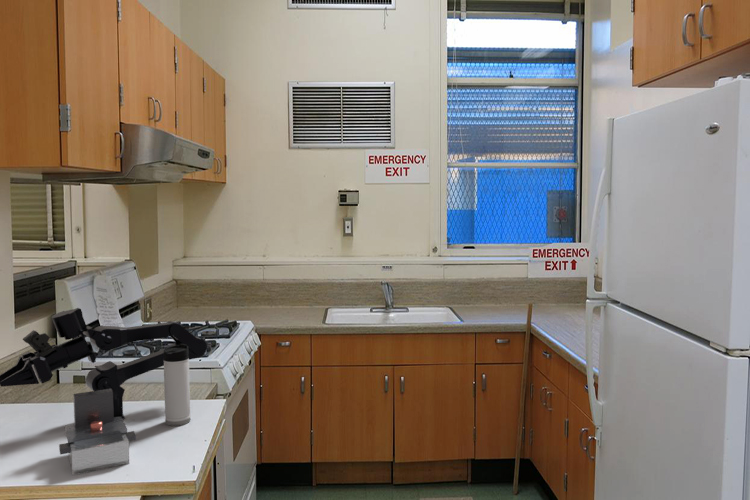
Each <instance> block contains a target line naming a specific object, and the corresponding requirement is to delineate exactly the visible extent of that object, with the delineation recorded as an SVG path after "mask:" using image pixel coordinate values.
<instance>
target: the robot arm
mask: <svg viewBox="0 0 750 500" xmlns="http://www.w3.org/2000/svg"><path fill="white" fill-rule="evenodd" d="M51 320H52V322H53V325H54V328H55V329H56V332H57V335H58V337H59V338H60V339H61V338H64V339H65V342H62V343H60V344H54V343H53V344H52V345H51V344H50V343H49V339H50V336H49V335H48V334H47V333H46V332H45V333H40V332H37V330H32V331H30V332H29V333H28V334H27V335H26V336H24V337H23V338H22V340H23V342H24V343H26V344H28V345H29V346H30V347H31V348H32V349H33V350H34V351H33V352H31V351H27V352H24V353H21V355H20V356H19V357H18V359H17V361H16V363H15V364H14V365H13V366H12V367H10V368H9V369H7V370H6V371H4V372H2V373H1V374H0V387H13V386H26V385H40V384H42V385H43V384H45V383H47V382H50V381H51V380H52V377H53V372H56V371H57V370H61V369H66V368H68V366H69V365H71V364H74V363H76V362H79V361H81V360H84V359H85V358H87V360H88V361H89V362H90V363H93V364H94V363H95V362H96V360H97V357H98V355H99V352H98V351H95V350H94V348H93V346H94V347H95V348H98V349H100V350H101V351H110V350H111V351H112V350H114V349H118V348H120V347H122V346H124V345H126V344H129V343H133V342H140V341H148V340H154V339H162V338H168V337H170V338H171V339H172V340H173V341H174V343H172V345H171V346H176V345H180V344H187V346H188V353H189V354H188V356H189V360H188V361H190V360H194V359H199V358H202V357H203V356H204V355H205V354H206V352H207V349H208V345H207V342H206V341H205V339H203V338H201V337H198V336H195V335H194V334H193V333H191V332H190V331H188V330H187V329H186V328H184V327H183V325H181V323H178V322H176V321H174V320H173V321H172V320H169V321H167V322H159V323H151V324H144V325H135V326H127V327H123V326H113V325H110V326H109V325H99V326H96V327H92V326H89V325H87V323H86V320H85V319H84V316H83V311H82V308H79V307H76V308H73V309H69V310H62V311H60V312H57V313H55V314H53V315H52V316H51ZM84 335H85V336H86V337H88V338H89V340H90V341H89V340H86V338H85V336H84ZM66 340H67V341H66ZM171 346H169V347H171ZM164 349H165V348H163V349H161V350H158V351H155V352H153V353H150V354H147V355H144V356H141V357H139V358H135V359H133V360H131V361H128V362H125V363H122V364H117V363H115V362H112V361H111V360H109V361H107V362H104V363H103V364H101V365H95V366H94V368H93V369H91V370H89V372H88V373H87V375H86V377H85V384H86V386H87V387H88V388H89V389H90V390H91V391H98V390H105V389H112V391H113V410H114V417H119V416H121V417H122V419H123V420H124V419H125V418H126V417H125V415H124V406H123V405H124V403H123V400H124V399H123V397H124V395H125V394H124V393H125V391H126V390H125V388H123V387H122V386H121V385H123V384H124V383H125V382H126V381H128V380H130V379H133V378H135V377H137V376H141V375H143V374H146V373H148V372H151V371H153V370H156V369H159V368H162V367H164Z"/></svg>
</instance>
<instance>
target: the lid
mask: <svg viewBox="0 0 750 500" xmlns="http://www.w3.org/2000/svg"><path fill="white" fill-rule="evenodd" d="M73 419H74V420H73V422H74V423H72V424H66V425H64V426H65V427H64V428H65V430H64V431H65V435H66V439H67V443H70V442H75V441H81V440H87V439H92V438H98V437H103V436H109V435H114V434H120V433H125V432H128V427H127V426H126V424H125V422H124V419H122V417H121V416H119V417H114V410H113V391H112V389H105V390H98V391H93V390H90V391H83V392H79V393H73Z"/></svg>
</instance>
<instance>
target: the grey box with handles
mask: <svg viewBox="0 0 750 500" xmlns="http://www.w3.org/2000/svg"><path fill="white" fill-rule="evenodd" d="M133 441H137V434H136V433H135V431H134V430H133V431H132V430H131V431H127V432H125V433H120V434H114V435H109V436H103V437H98V438H92V439H87V440H81V441H75V442H70V443H68V442H64V443H60V444H58V446H59V454H60V455H64V454H68V455H69V456H68V457H69V458H68V459H69V463H70V468H71V474H72V476H75V475H80V474H84V473H85V474H86V473H90V472H93V471H94V472H95V471H99V470H104V469H105V470H106V469H109V468H113V467H119V466H123V465H128V464H130V443H129V442H133Z"/></svg>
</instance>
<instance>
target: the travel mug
mask: <svg viewBox="0 0 750 500" xmlns="http://www.w3.org/2000/svg"><path fill="white" fill-rule="evenodd" d="M163 349H164V366H163V378H164V379H163V383H164V385H163V387H164V388H163V390H164V422H165V424H166V426H167V425H168V426H171V427H172V426H173V427H176V426H184V425H186V424H188V423H189V422H190V421H191V392H190V391H191V390H190V388H191V387H190V360H189V356H188V354H189V353H188V346H187V344H180V345H176V346H172V345H171V347H170V346H168V347H166V348H163Z"/></svg>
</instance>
